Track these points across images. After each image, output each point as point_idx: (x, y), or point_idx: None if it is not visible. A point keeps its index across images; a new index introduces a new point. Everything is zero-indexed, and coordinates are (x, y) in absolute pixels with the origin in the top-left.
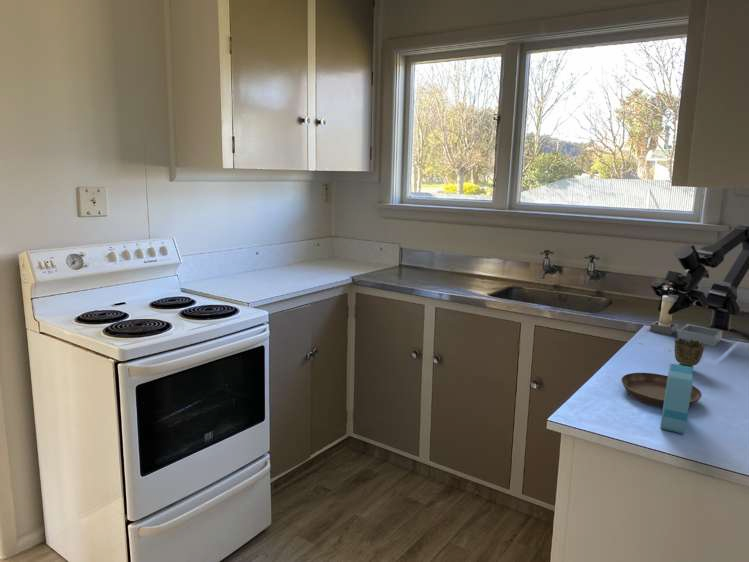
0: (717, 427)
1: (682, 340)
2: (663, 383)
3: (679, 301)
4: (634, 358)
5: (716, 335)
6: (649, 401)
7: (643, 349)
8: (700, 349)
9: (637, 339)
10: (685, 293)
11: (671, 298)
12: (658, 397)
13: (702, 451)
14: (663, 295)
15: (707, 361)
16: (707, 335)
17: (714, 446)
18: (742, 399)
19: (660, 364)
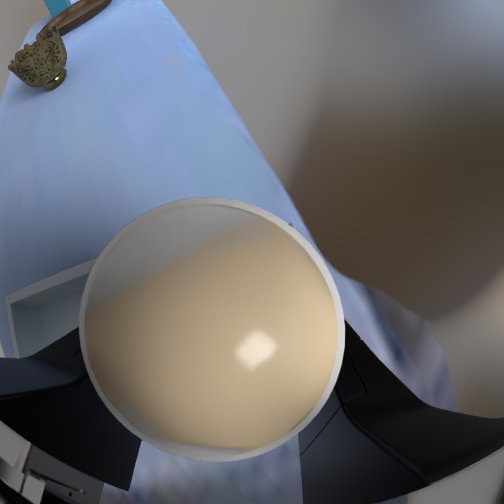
0: (34, 36)
1: (43, 46)
2: (77, 23)
3: (54, 350)
4: (147, 33)
5: (9, 330)
6: (83, 4)
7: (163, 74)
8: (19, 57)
9: (240, 124)
10: (9, 501)
11: (106, 267)
12: (78, 14)
13: (47, 17)
14: (321, 291)
15: (26, 164)
16: (19, 291)
17: (40, 24)
18: (4, 89)
19: (97, 56)
